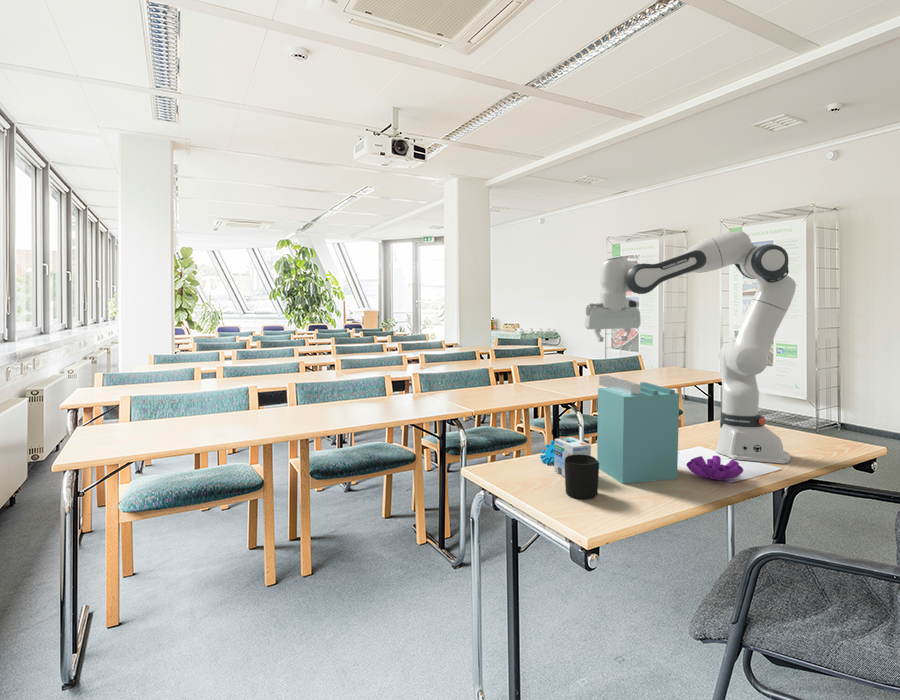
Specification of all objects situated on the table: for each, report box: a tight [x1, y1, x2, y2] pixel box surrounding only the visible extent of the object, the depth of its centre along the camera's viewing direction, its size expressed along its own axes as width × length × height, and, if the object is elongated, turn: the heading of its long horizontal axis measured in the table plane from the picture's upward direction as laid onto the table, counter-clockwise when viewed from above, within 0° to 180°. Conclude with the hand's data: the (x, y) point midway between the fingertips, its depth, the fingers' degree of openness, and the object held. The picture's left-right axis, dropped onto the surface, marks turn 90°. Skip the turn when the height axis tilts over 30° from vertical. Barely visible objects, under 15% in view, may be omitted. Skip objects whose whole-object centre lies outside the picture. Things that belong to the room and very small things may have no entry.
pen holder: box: [564, 455, 600, 500], centre depth 148 cm, size 9×9×10 cm
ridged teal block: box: [596, 381, 680, 485], centre depth 164 cm, size 16×18×27 cm
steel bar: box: [598, 375, 640, 395], centre depth 166 cm, size 20×3×3 cm, turn 11°
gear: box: [539, 439, 555, 465], centre depth 177 cm, size 11×6×10 cm
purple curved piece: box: [686, 455, 744, 481], centre depth 158 cm, size 11×15×10 cm
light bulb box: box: [553, 436, 592, 478], centre depth 164 cm, size 11×7×11 cm, turn 21°
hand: (612, 341), depth 191 cm, fingers open, 8 cm apart
